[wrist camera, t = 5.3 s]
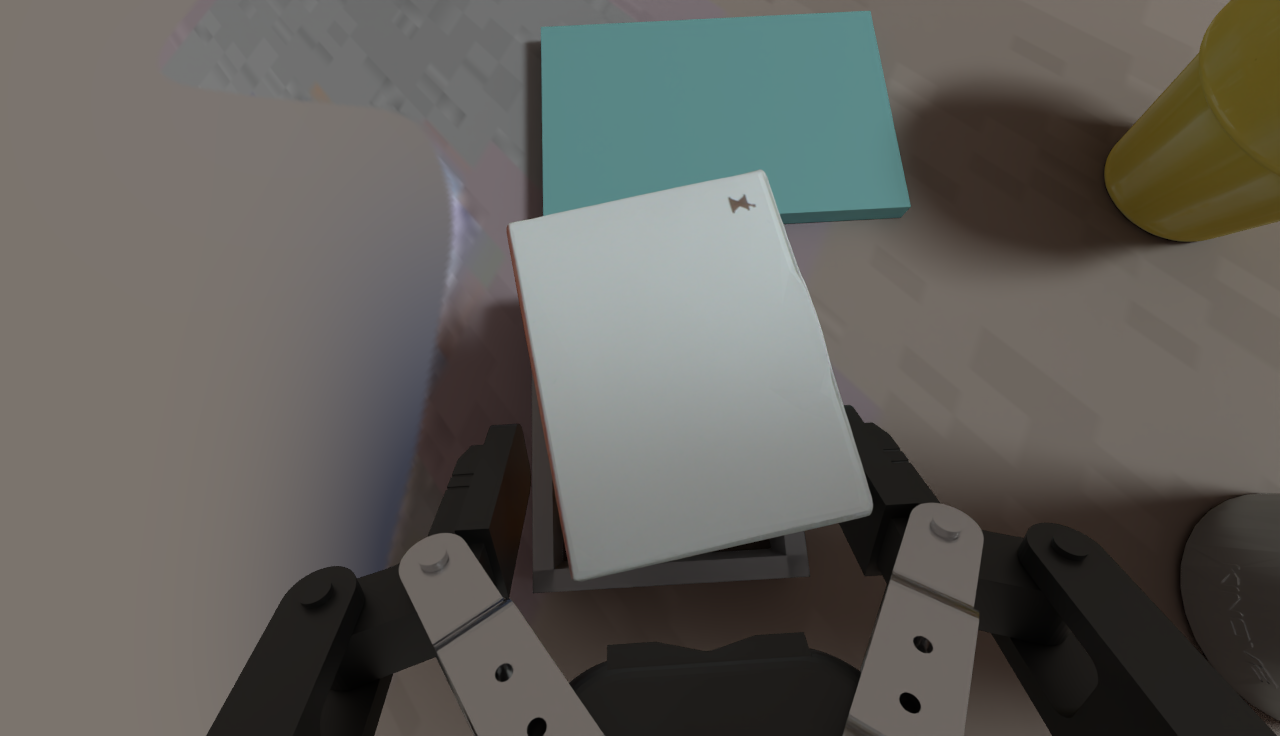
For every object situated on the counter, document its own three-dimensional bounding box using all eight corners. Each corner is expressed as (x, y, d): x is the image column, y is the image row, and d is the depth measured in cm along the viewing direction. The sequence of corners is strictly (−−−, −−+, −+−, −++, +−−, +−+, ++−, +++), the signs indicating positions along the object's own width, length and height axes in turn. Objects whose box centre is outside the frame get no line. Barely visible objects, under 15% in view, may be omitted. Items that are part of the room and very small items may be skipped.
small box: (574, 360, 24) (499, 213, 11) (703, 331, 24) (770, 158, 12) (610, 535, 22) (568, 591, 9) (750, 501, 22) (889, 512, 10)
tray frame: (758, 293, 25) (770, 272, 22) (791, 567, 22) (809, 576, 19) (542, 305, 25) (531, 285, 22) (545, 582, 22) (532, 593, 19)
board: (862, 27, 29) (870, 10, 28) (900, 217, 26) (910, 206, 25) (544, 43, 28) (541, 27, 27) (547, 236, 26) (543, 226, 25)
